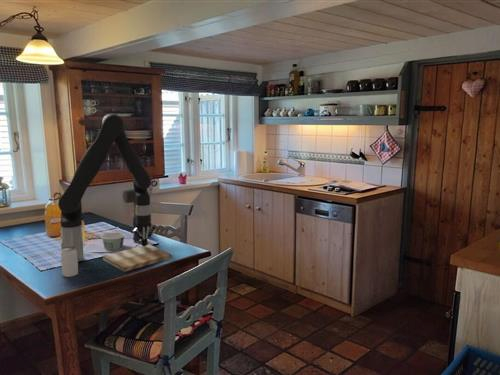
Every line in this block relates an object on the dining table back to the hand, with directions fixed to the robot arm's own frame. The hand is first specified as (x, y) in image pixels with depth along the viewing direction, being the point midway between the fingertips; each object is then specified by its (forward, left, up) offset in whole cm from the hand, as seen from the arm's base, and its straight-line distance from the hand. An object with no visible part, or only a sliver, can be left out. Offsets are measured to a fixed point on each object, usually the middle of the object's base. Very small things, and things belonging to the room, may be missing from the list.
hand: (144, 245), depth 210 cm
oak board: (-1, -15, -3) cm, 15 cm away
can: (-33, -23, -4) cm, 40 cm away
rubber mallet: (-4, +18, -3) cm, 19 cm away
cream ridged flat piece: (-6, -6, -3) cm, 9 cm away
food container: (-16, +11, -4) cm, 19 cm away
